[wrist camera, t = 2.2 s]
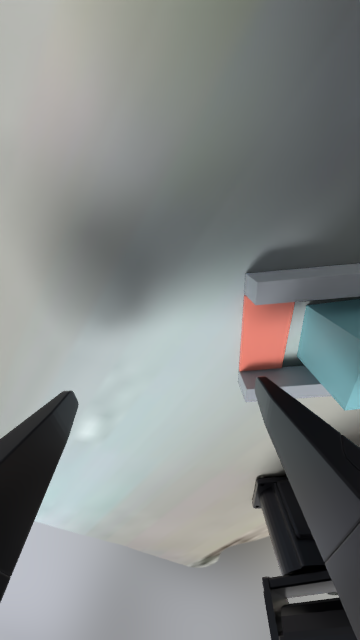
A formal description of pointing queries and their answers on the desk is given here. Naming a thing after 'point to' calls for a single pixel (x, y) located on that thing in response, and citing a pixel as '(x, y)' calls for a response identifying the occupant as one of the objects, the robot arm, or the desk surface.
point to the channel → (285, 323)
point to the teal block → (333, 349)
